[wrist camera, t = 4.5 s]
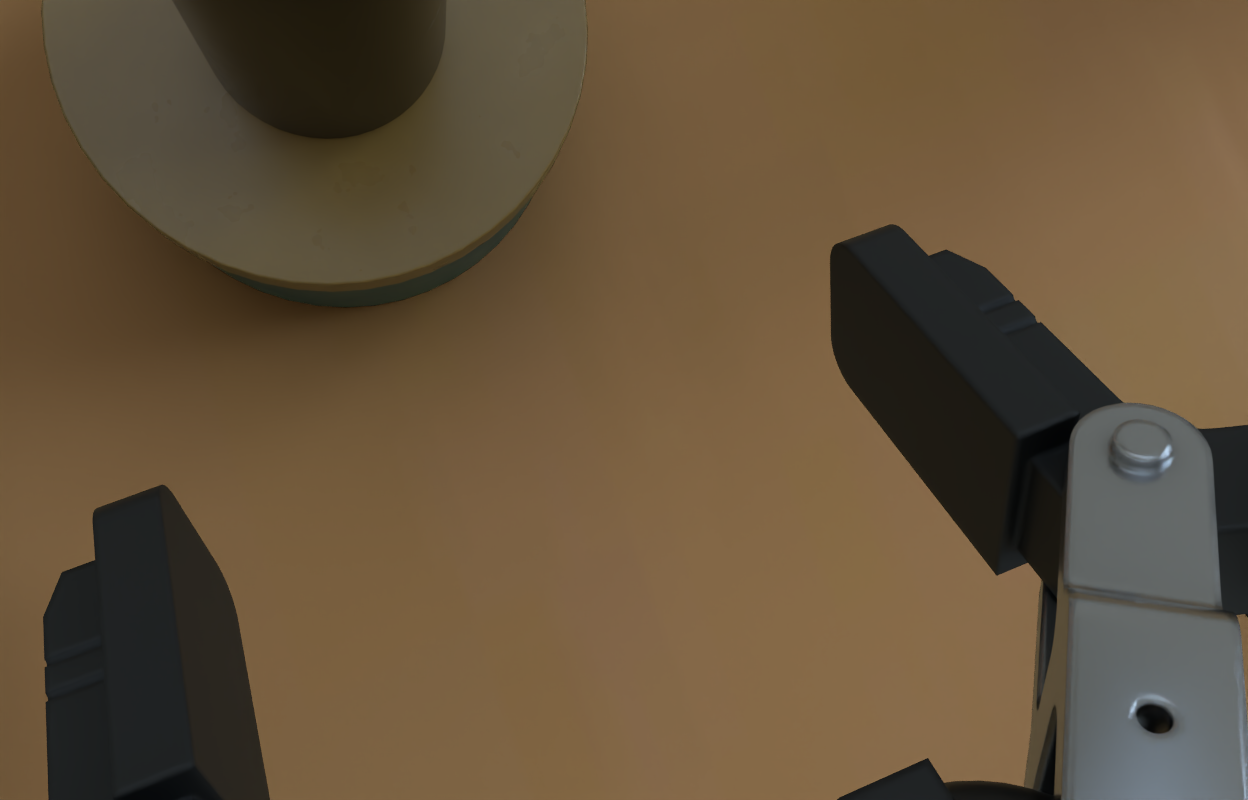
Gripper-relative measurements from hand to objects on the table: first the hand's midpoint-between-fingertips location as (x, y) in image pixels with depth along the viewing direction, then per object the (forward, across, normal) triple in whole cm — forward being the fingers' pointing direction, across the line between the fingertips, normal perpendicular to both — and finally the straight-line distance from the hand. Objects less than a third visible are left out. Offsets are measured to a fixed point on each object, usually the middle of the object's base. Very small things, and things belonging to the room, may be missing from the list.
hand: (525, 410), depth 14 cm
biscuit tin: (+22, 0, +7) cm, 23 cm away
